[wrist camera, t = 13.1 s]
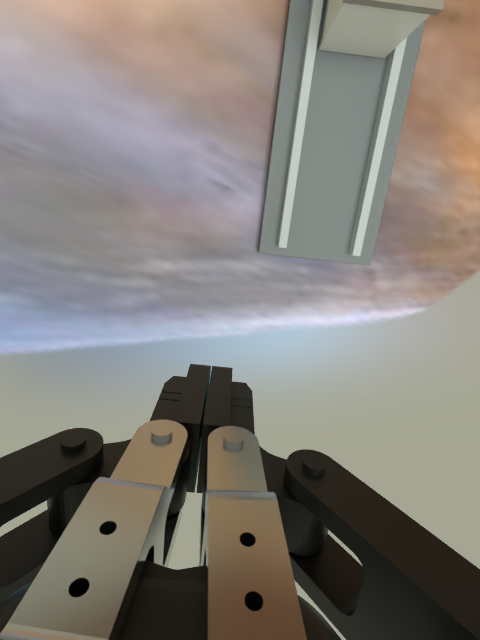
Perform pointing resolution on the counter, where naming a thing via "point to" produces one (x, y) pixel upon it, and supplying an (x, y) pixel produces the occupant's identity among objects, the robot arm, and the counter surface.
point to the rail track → (332, 142)
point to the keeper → (372, 24)
